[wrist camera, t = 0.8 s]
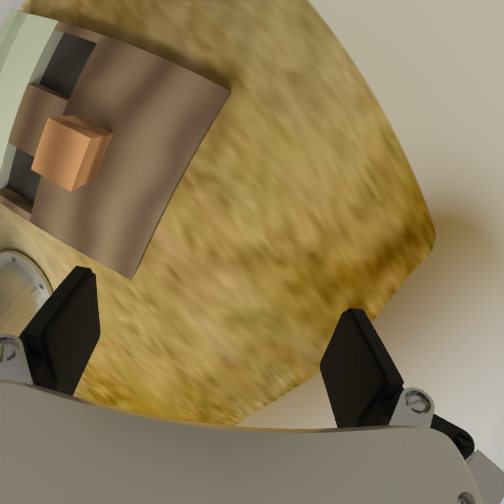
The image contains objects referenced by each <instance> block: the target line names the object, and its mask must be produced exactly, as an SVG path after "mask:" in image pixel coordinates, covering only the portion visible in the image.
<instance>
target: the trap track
mask: <svg viewBox="0 0 504 504" xmlns="http://www.w3.org/2000/svg"><path fill="white" fill-rule="evenodd" d="M54 29H55V30H58V31H60V32H63V33H64V34H63V36H62V38H61V39H60V41H59V43H58V45H57V47H56V49H55V51H54V53H53V55H52V57H51V59H50V61H49V63H48V65H47V67H46V70H45V72H44V74H43V76H42V79H41V81H40V83H39V84H28V85H27V87H26V89H25V92H24V95H23V97H22V100H21V103H20V105H19V108H18V111H17V114H16V117H15V120H14V123H13V126H12V129H11V133H10V136H9V140H8V142H9V143H10V144H12V145H14V146H16V147H17V148H16V152H15V155H14V159H13V163H12V167H11V171H10V175H9V180H8V184H7V187H6V188H4V189H2V190H0V203H1V204H3V205H4V206H6V207H7V208H9V209H10V210H12V211H13V212H15V213H17V214H18V215H20V216H21V217H23V218H24V219H26V220H28V221H29V222H31V223H32V224H34V225H36V226H37V227H39V228H40V229H42V230H44V231H45V232H47V233H49V234H50V235H52V236H54V237H55V238H57V239H59V240H60V241H62V242H64V243H65V244H67V245H69V246H71V247H72V248H74V249H76V250H78V251H79V252H81V253H83V254H85V255H86V256H88V257H90V258H92V259H94V260H95V261H97V262H99V263H101V264H103V265H105V266H106V267H108V268H110V269H112V270H114V271H116V272H118V273H119V274H121V275H123V276H125V277H127V278H129V279H131V280H132V278H133V276H134V275H135V273H136V271H137V269H138V267H139V265H140V262H141V260H142V258H143V256H144V254H145V251H146V249H147V247H148V245H149V243H150V241H151V238H152V236H153V234H154V232H155V230H156V228H157V226H158V224H159V222H160V220H161V218H162V216H163V214H164V212H165V210H166V208H167V206H168V204H169V202H170V200H171V198H172V196H173V194H174V192H175V190H176V188H177V186H178V184H179V182H180V180H181V178H182V177H183V175H184V173H185V171H186V169H187V167H188V165H189V164H190V162H191V160H192V158H193V156H194V155H195V153H196V151H197V149H198V147H199V146H200V144H201V142H202V140H203V139H204V137H205V135H206V134H207V132H208V130H209V128H210V127H211V125H212V123H213V122H214V120H215V118H216V117H217V115H218V113H219V112H220V110H221V108H222V107H223V105H224V104H225V102H226V100H227V99H228V97H229V96H230V94H231V91H229V90H227V89H225V88H224V87H222V86H220V85H218V84H216V83H214V82H212V81H210V80H208V79H206V78H204V77H202V76H200V75H198V74H196V73H194V72H192V71H190V70H188V69H186V68H183V67H181V66H179V65H177V64H175V63H172V62H170V61H168V60H166V59H163V58H161V57H159V56H157V55H154V54H152V53H149V52H147V51H145V50H142V49H140V48H137V47H135V46H132V45H130V44H127V43H124V42H122V41H119V40H116V39H114V38H111V37H108V36H105V35H102V34H99V33H96V32H93V31H90V30H87V29H84V28H81V27H78V26H74V25H71V24H67V23H64V22H60V21H58V23H57V25H56V26H55V28H54ZM71 115H75V116H77V117H79V118H81V119H84V120H86V121H88V122H90V123H92V124H94V125H96V126H98V127H100V128H102V129H104V130H106V131H108V132H110V133H112V134H113V136H112V138H111V140H110V142H109V144H108V147H107V149H106V151H105V154H104V156H103V158H102V161H101V163H100V166H99V168H98V171H97V173H96V176H95V178H94V180H92V181H90V182H88V183H86V184H84V185H82V186H81V187H79V188H77V189H75V190H73V191H72V192H70V191H68V190H67V189H65V188H63V187H61V186H60V185H58V184H56V183H54V182H52V181H51V180H49V179H47V178H45V177H44V176H42V175H40V174H38V173H37V172H35V171H33V170H31V168H32V164H33V161H34V158H35V154H36V151H37V148H38V145H39V142H40V139H41V136H42V133H43V130H44V127H45V125H46V122H47V119H48V118H49V117H59V116H71Z"/></svg>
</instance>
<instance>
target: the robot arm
mask: <svg viewBox="0 0 504 504" xmlns="http://www.w3.org/2000/svg"><path fill="white" fill-rule="evenodd" d="M99 337H100V321H99V311H98V300H97V286H96V275H95V273H92V270H91V269H90V268H85V267H80V266H76V267H75V268H74V269H73V270H72V271H71V272H70V274H69V275H68V276H67V277H66V278H65V279H64V280H63V282H62V283H61V284H60V285H59V286H58V288H57V289H56V290H55V291H54V292H53V293H52V290H51V287H50V285H49V283H48V281H47V279H46V277H45V276H44V274H43V272H42V271H41V270H40V269H39V267H38V266H37V265H36V264H35V263H34V262H33V261H32V260H31V259H29V258H28V257H26V256H25V255H23V254H21V253H19V252H17V251H13V250H6V251H2V252H1V253H0V504H500V503H501V501H502V499H503V497H504V472H503V471H502V470H501V469H500V468H499V467H497V466H496V465H495V464H494V463H493V462H492V461H491V460H490V459H488V458H487V457H486V456H485V455H484V454H483V453H482V452H481V451H479V450H477V451H476V452H475V451H474V446H475V445H474V441H473V439H472V437H471V436H470V435H469V434H468V433H467V432H466V431H464V430H463V429H461V428H459V427H457V426H455V425H454V424H452V423H450V422H448V421H446V420H444V419H443V418H441V417H439V416H437V415H435V414H434V403H433V400H432V399H431V397H430V396H429V395H428V394H427V393H426V392H424V391H423V390H421V389H418V388H412V387H411V388H407V389H405V390H404V388H403V386H402V385H403V383H404V381H403V379H402V377H401V375H400V373H399V372H398V370H397V368H396V366H395V364H394V362H393V361H392V359H391V357H390V355H389V354H388V352H387V350H386V348H385V346H384V344H383V343H382V341H381V339H380V338H379V336H378V334H377V332H376V330H375V329H374V327H373V325H372V324H371V322H370V320H369V318H368V317H367V315H366V313H365V312H364V310H362V309H354V308H349V309H347V311H344V312H343V313H342V315H341V317H340V319H339V322H338V324H337V326H336V329H335V331H334V333H333V336H332V338H331V340H330V342H329V345H328V347H327V349H326V351H325V353H324V355H323V358H322V360H321V363H320V370H321V373H322V377H323V380H324V383H325V387H326V390H327V394H328V397H329V400H330V404H331V407H332V410H333V413H334V417H335V421H336V424H337V427H338V428H331V429H330V428H329V429H328V428H327V429H274V428H252V427H237V426H226V425H216V424H207V423H199V422H191V421H184V420H177V419H171V418H165V417H159V416H154V415H148V414H143V413H138V412H134V411H129V410H125V409H120V408H116V407H112V406H108V405H104V404H100V403H96V402H92V401H88V400H85V399H81V398H78V397H74V396H73V394H74V392H75V389H76V387H77V385H78V383H79V380H80V378H81V376H82V374H83V372H84V369H85V367H86V365H87V363H88V361H89V359H90V357H91V354H92V352H93V350H94V348H95V346H96V344H97V342H98V340H99Z"/></svg>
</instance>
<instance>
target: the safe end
mask: <svg viewBox="0 0 504 504" xmlns="http://www.w3.org/2000/svg"><path fill="white" fill-rule="evenodd" d="M57 23H58V21H57V20H53V19H49V18H45V17H41V16H37V15H32V14H28V13H25V12H22V11H19V10H14V9H11V11H10V13H9V15H8V17H7V19H6V21H5V22H4V25H3V26H2V28H1V31H0V190H2V189H4V188H6V187H7V184H8V180H9V175H10V171H11V167H12V163H13V159H14V155H15V152H16V148H17V147H16V146H14V145H12V144H10V143H9V142H8V140H9V136H10V133H11V129H12V126H13V123H14V120H15V117H16V114H17V111H18V108H19V105H20V103H21V100H22V97H23V95H24V92H25V89H26V87H27V85H28V84H39V83H40V81H41V79H42V76H43V74H44V72H45V70H46V67H47V65H48V63H49V61H50V59H51V57H52V55H53V53H54V51H55V49H56V47H57V45H58V43H59V41H60V39H61V38H62V36H63V34H64V33H63V32H60V31H58V30H55V29H54V28H55V26H56V25H57Z"/></svg>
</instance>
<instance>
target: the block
mask: <svg viewBox="0 0 504 504" xmlns="http://www.w3.org/2000/svg"><path fill="white" fill-rule="evenodd" d="M112 136H113V134H112V133H110V132H108V131H106V130H104V129H102V128H100V127H98V126H96V125H94V124H92V123H90V122H88V121H86V120H84V119H81V118H79V117H77V116H75V115H71V116H59V117H49V118H48V119H47V122H46V125H45V127H44V130H43V133H42V136H41V139H40V142H39V145H38V148H37V151H36V154H35V158H34V161H33V164H32V168H31V170H33V171H35V172H37V173H38V174H40V175H42V176H44V177H45V178H47V179H49V180H51V181H52V182H54V183H56V184H58V185H60V186H61V187H63V188H65V189H67V190H68V191H70V192H72V191H73V190H75V189H77V188H79V187H81V186H82V185H84V184H86V183H88V182H90V181H92V180H94V178H95V176H96V173H97V171H98V168H99V166H100V163H101V161H102V158H103V156H104V154H105V151H106V149H107V147H108V144H109V142H110V140H111V138H112Z"/></svg>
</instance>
